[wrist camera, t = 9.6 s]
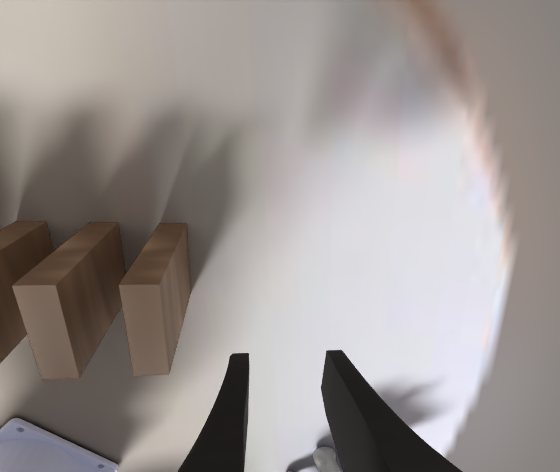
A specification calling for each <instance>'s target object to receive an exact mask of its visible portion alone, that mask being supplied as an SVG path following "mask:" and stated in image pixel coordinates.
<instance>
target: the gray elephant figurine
mask: <svg viewBox="0 0 560 472" xmlns="http://www.w3.org/2000/svg"><path fill="white" fill-rule="evenodd" d="M313 458H314V461H315V463H316V465H317V467H318V469H319V471H320V472H341V470H340V468H339V467H338V465H337V463H336V453H335V451H334V450H333V449H332V448H330V447H326V446H323V447H320V448H317V449H316V450H315V451H314V454H313ZM288 472H293V471H288Z"/></svg>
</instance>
